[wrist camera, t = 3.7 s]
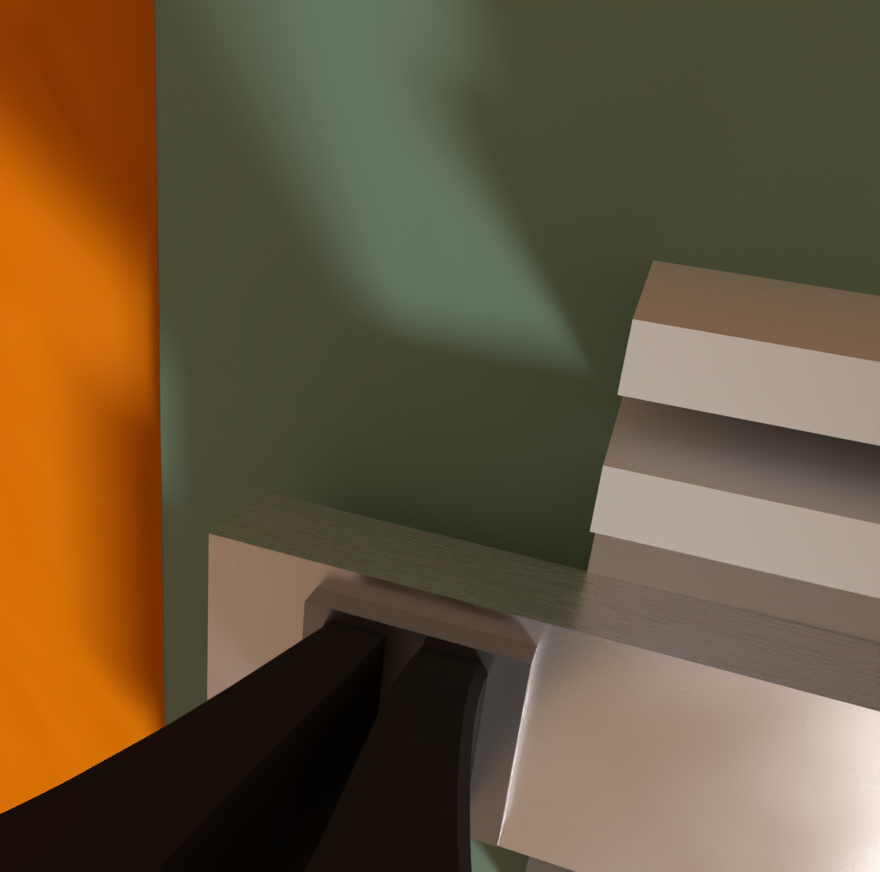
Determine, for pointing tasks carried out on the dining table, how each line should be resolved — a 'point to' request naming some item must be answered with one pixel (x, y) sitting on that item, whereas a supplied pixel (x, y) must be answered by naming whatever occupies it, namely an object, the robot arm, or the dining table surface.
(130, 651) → the dining table surface
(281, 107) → the socket base
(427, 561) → the white stepped bar
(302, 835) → the robot arm
